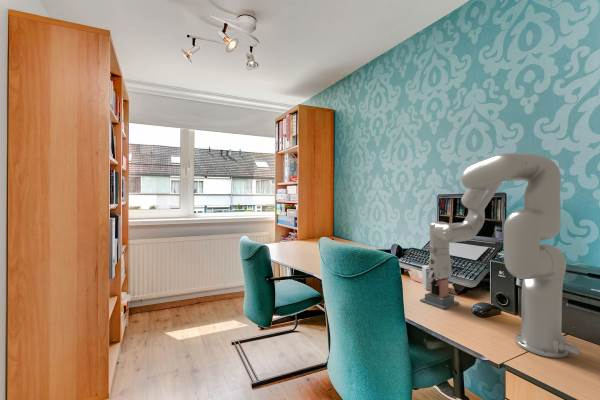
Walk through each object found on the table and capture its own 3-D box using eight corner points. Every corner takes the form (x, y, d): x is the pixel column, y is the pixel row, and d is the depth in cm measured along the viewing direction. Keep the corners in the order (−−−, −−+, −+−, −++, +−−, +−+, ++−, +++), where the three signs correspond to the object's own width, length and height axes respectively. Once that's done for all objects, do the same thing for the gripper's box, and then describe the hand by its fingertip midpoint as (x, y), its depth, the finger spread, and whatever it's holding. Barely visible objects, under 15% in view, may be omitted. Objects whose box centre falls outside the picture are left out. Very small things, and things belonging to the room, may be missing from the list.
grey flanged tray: (459, 303, 125) (459, 296, 125) (443, 309, 119) (443, 301, 119) (435, 296, 134) (435, 289, 134) (419, 301, 128) (419, 293, 128)
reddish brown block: (448, 295, 126) (448, 279, 125) (441, 297, 123) (441, 281, 123) (437, 291, 130) (437, 276, 130) (430, 294, 127) (430, 278, 127)
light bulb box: (443, 286, 148) (443, 264, 147) (449, 290, 141) (449, 268, 141) (421, 286, 149) (421, 264, 148) (425, 290, 142) (425, 268, 142)
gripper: (435, 255, 118) (435, 300, 119) (459, 249, 127) (459, 291, 128) (418, 251, 125) (419, 294, 125) (442, 247, 133) (443, 287, 134)
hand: (439, 292), depth 126 cm, fingers closed on reddish brown block, 4 cm apart
